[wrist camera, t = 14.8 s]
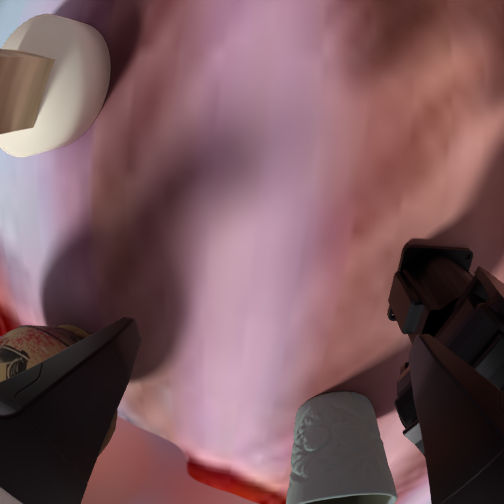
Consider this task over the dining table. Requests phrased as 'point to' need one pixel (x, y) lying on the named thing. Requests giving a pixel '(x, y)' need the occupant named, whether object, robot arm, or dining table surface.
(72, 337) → the ceramic jug
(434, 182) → the dining table surface
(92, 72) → the cream plinth
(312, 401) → the grey cup
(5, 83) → the maple block
